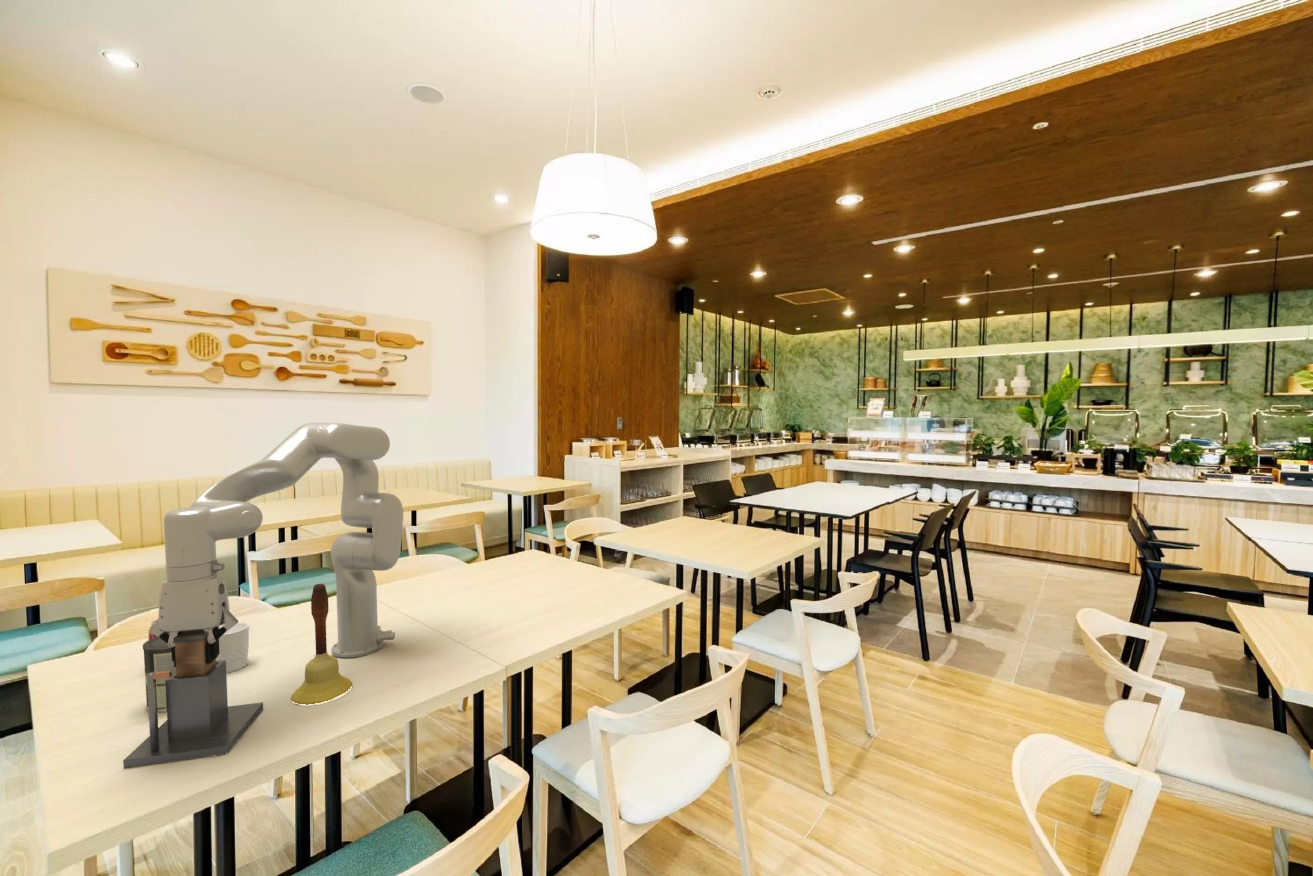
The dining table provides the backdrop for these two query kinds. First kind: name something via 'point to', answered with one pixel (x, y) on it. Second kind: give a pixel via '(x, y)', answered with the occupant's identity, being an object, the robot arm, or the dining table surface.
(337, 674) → the handbell
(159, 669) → the coffee can
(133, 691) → the dining table surface
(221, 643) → the white cup
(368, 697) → the dining table surface
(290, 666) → the dining table surface
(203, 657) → the walnut post
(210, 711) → the steel stand
